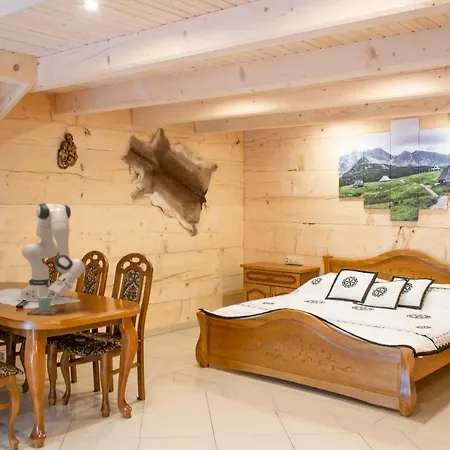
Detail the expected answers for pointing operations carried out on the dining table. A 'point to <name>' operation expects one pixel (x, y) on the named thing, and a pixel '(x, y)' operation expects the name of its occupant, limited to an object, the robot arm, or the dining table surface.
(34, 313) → the board
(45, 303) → the teal rounded block
